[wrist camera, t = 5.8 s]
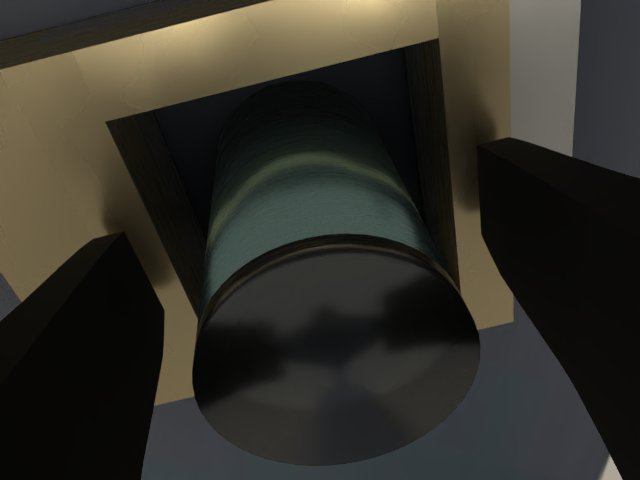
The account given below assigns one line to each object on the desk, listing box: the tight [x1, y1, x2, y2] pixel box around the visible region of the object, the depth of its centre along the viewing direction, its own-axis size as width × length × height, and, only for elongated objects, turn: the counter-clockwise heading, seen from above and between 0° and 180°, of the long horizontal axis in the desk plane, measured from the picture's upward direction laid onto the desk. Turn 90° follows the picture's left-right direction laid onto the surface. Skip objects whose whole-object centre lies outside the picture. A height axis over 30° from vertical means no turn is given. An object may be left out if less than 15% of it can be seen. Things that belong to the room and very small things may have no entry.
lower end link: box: [31, 0, 581, 277], centre depth 13 cm, size 8×10×2 cm
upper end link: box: [0, 0, 514, 406], centre depth 12 cm, size 8×10×3 cm
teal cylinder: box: [192, 80, 480, 466], centre depth 10 cm, size 4×4×7 cm
